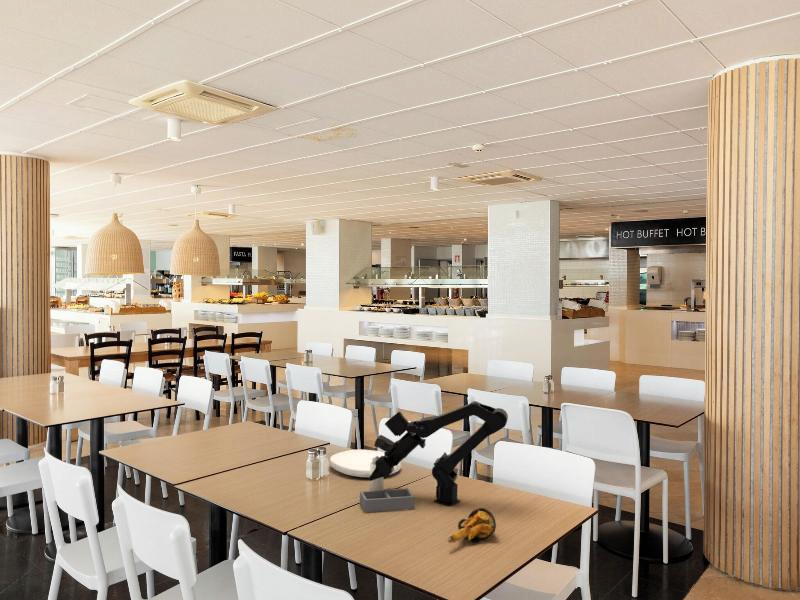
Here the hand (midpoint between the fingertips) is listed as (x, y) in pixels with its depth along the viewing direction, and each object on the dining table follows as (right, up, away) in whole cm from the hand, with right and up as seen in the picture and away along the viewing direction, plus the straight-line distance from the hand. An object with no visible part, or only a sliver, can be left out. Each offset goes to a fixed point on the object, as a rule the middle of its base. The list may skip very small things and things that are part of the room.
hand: (372, 475), depth 210 cm
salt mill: (+1, -7, 0) cm, 7 cm away
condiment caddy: (+5, -7, -11) cm, 14 cm away
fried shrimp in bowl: (+30, -8, -38) cm, 49 cm away
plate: (-4, -7, +29) cm, 30 cm away
